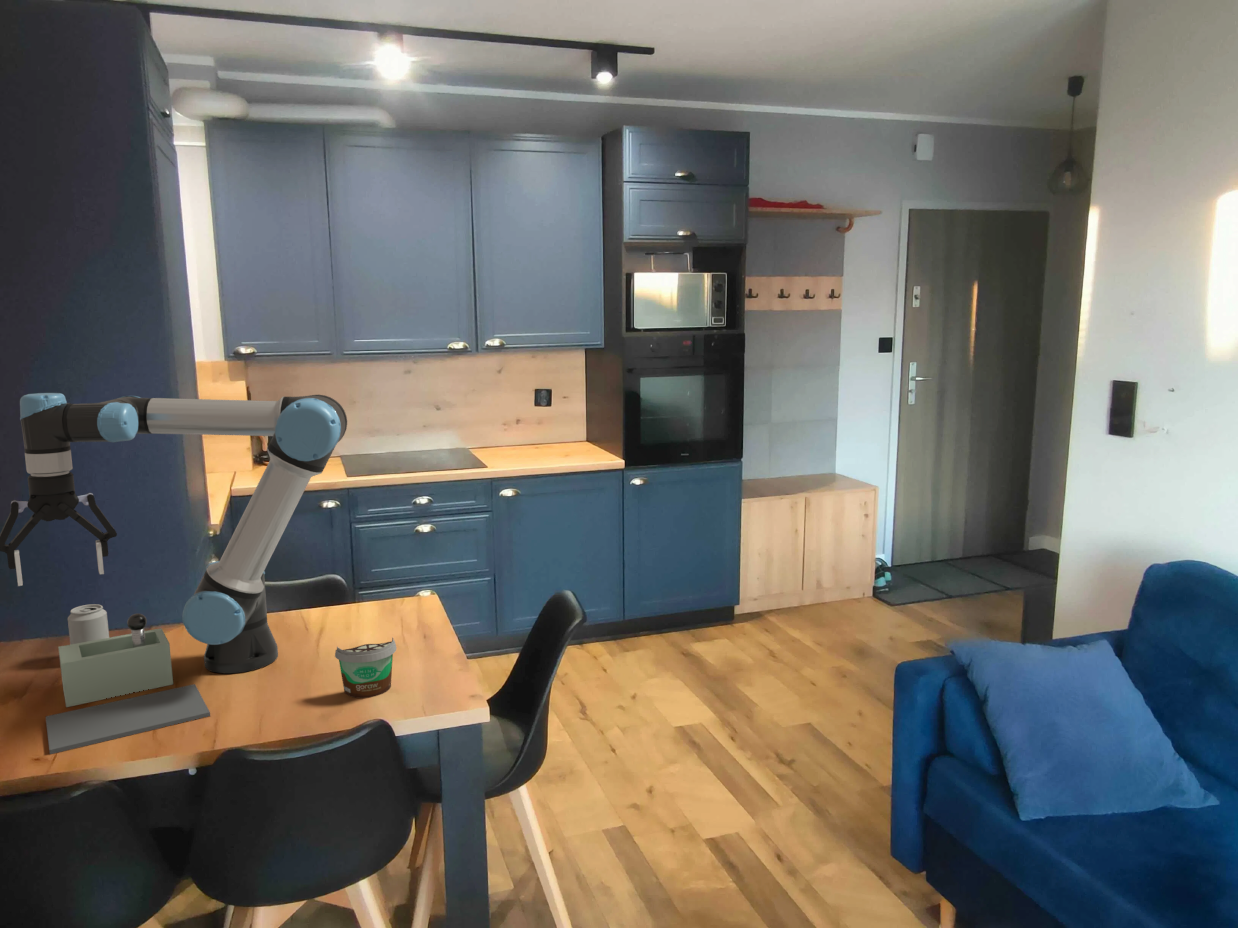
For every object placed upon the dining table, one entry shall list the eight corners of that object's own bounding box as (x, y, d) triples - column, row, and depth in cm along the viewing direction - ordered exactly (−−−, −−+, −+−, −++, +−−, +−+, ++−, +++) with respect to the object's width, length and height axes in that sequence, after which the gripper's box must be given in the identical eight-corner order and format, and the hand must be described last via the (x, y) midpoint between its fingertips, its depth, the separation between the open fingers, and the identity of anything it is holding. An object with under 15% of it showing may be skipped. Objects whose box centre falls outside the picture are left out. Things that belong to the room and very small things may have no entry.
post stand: (154, 674, 188) (148, 608, 185) (157, 682, 184) (151, 614, 181) (127, 679, 185) (121, 612, 182) (130, 687, 181) (124, 619, 178)
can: (118, 653, 200) (113, 602, 198) (96, 665, 192) (90, 613, 190) (87, 651, 200) (82, 601, 198) (64, 664, 193) (58, 612, 191)
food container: (342, 704, 173) (339, 657, 171) (336, 693, 178) (334, 646, 177) (404, 692, 178) (402, 646, 177) (397, 681, 184) (395, 636, 182)
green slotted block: (165, 667, 191) (161, 628, 190) (173, 684, 183) (169, 643, 181) (63, 687, 181) (58, 646, 179) (66, 707, 172) (61, 663, 170)
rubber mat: (195, 687, 181) (195, 683, 181) (210, 715, 168) (210, 712, 168) (46, 720, 166) (45, 716, 166) (49, 754, 153) (49, 749, 153)
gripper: (121, 464, 180) (130, 563, 183) (-29, 476, 166) (-16, 584, 169) (125, 469, 174) (135, 572, 177) (-30, 482, 160) (-16, 594, 163)
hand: (61, 578), depth 173 cm, fingers open, 13 cm apart
